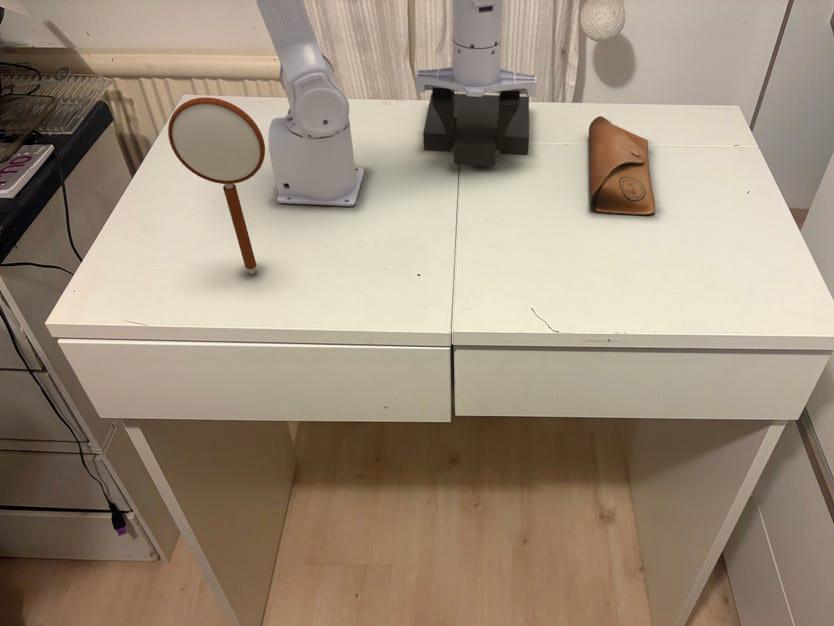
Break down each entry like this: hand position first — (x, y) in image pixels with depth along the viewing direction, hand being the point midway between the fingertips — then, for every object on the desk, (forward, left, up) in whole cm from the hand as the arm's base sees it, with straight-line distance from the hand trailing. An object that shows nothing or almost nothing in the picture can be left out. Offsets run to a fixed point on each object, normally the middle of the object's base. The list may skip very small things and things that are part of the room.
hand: (475, 145), depth 92 cm
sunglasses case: (+19, -1, -3) cm, 19 cm away
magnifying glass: (-23, -24, -3) cm, 34 cm away
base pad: (0, +9, -3) cm, 9 cm away
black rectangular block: (0, +2, -2) cm, 3 cm away
